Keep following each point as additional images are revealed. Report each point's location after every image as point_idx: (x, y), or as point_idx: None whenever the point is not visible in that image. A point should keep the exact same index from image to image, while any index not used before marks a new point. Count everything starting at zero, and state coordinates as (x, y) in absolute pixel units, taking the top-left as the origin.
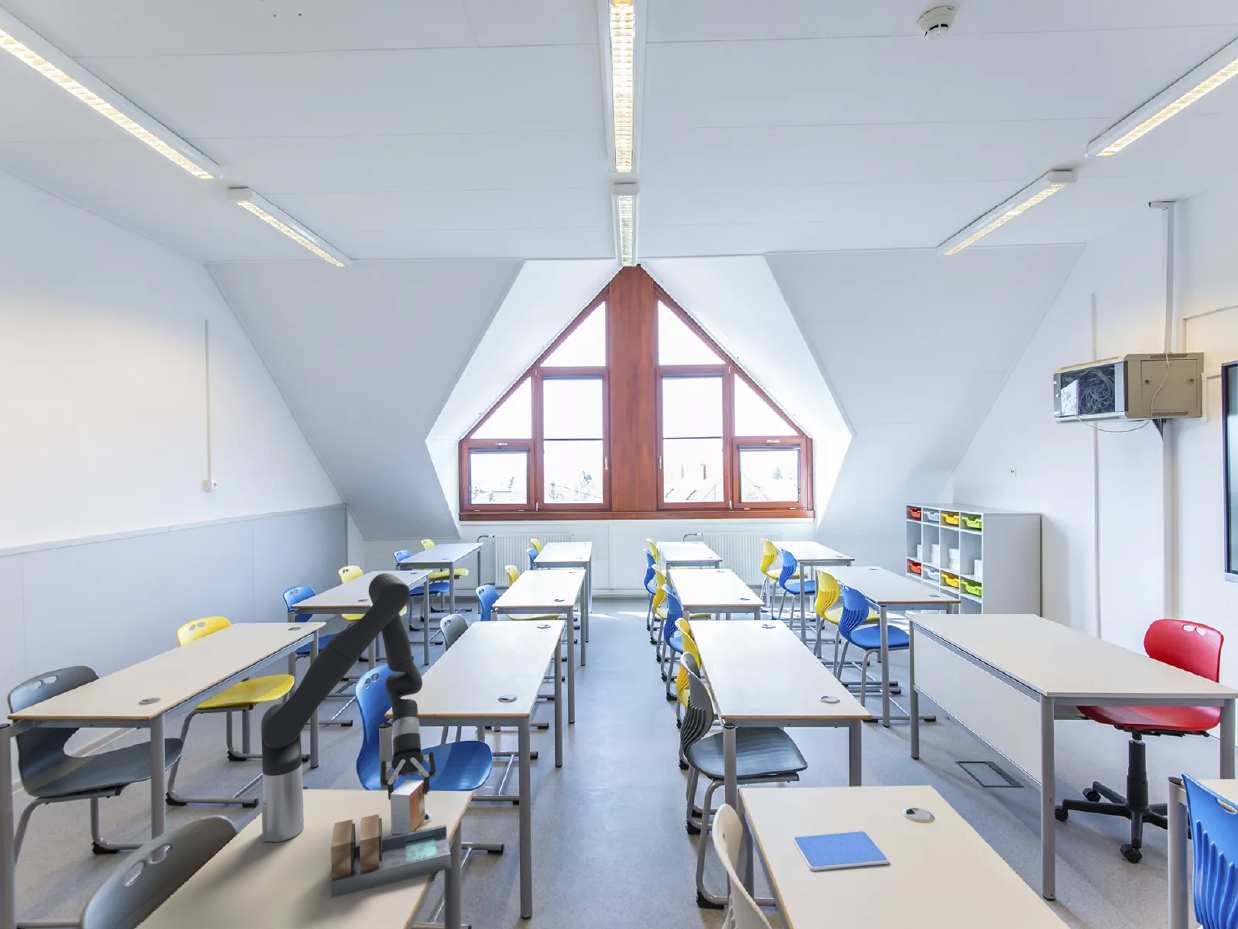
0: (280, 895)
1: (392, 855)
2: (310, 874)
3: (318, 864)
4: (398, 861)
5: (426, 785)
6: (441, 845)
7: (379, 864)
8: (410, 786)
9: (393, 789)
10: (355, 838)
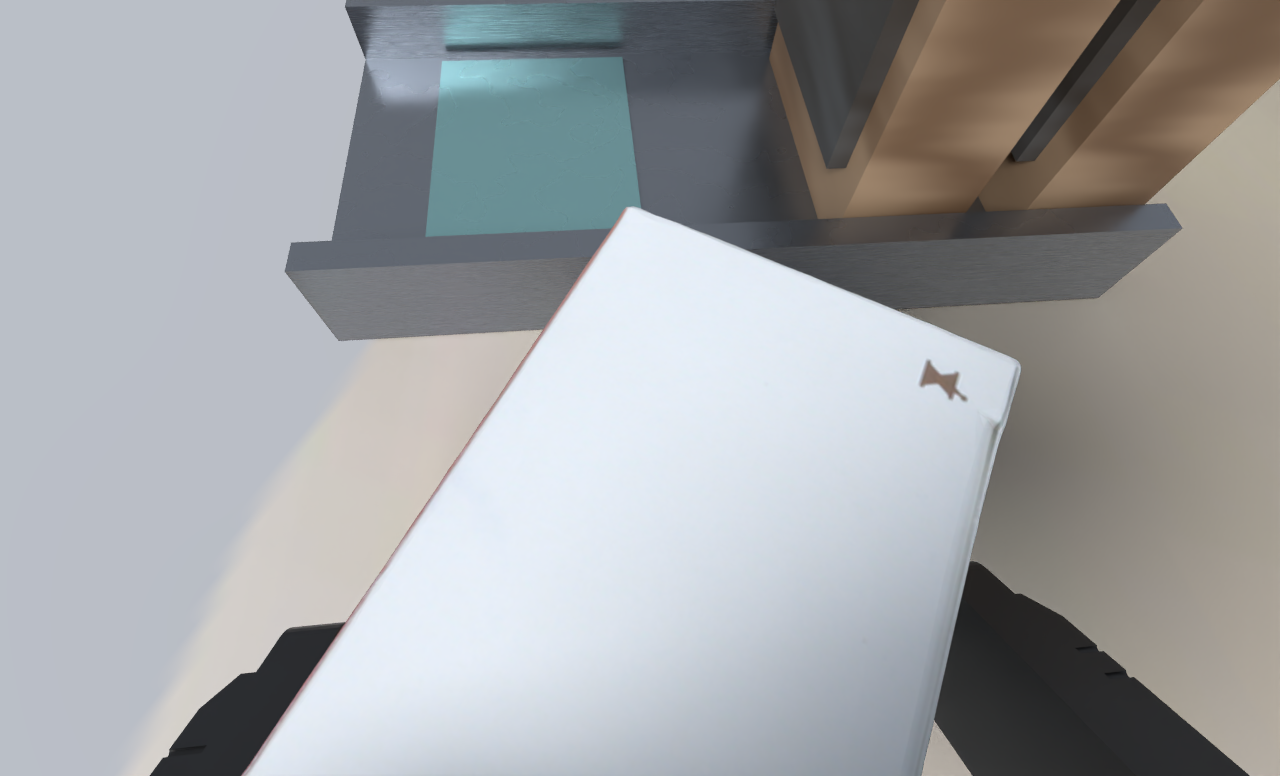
0: (1257, 137)
1: (725, 177)
2: (1205, 242)
3: (1220, 319)
4: (677, 122)
5: (232, 719)
6: (391, 179)
7: (789, 90)
8: (624, 526)
9: (1048, 682)
10: (1067, 87)
